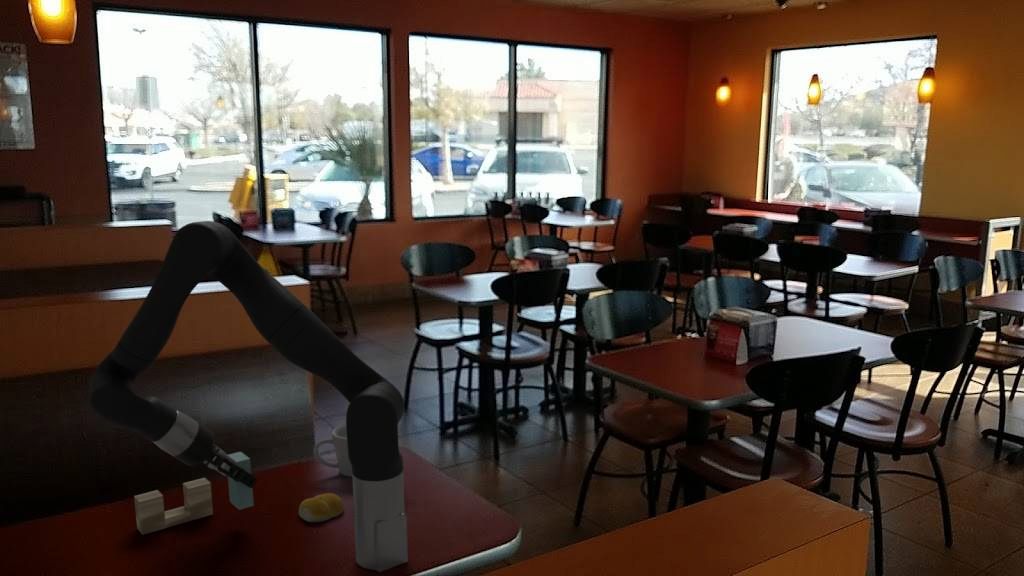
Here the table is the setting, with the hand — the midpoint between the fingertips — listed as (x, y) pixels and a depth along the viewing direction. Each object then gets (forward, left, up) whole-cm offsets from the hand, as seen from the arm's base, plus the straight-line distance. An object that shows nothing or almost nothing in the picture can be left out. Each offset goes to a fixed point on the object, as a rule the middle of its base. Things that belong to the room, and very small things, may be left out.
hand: (248, 479), depth 165 cm
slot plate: (+10, +12, -9) cm, 18 cm away
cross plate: (0, +2, -5) cm, 5 cm away
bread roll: (-6, -13, -10) cm, 17 cm away
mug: (+10, -27, -10) cm, 30 cm away
